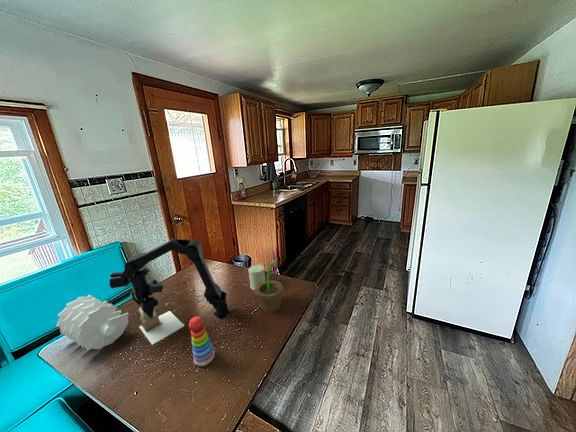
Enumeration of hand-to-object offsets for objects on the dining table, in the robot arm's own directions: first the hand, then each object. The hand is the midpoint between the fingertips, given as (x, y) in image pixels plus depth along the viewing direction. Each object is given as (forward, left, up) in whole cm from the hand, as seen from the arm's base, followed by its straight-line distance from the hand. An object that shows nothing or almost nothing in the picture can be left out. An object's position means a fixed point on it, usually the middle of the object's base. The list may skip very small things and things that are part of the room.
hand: (148, 313), depth 106 cm
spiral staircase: (+12, +18, -8) cm, 23 cm away
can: (-16, -53, -7) cm, 56 cm away
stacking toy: (-37, -7, -7) cm, 38 cm away
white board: (-4, -3, -7) cm, 9 cm away
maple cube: (0, 0, -2) cm, 2 cm away
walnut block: (0, 0, -7) cm, 7 cm away
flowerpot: (-35, -45, -7) cm, 57 cm away
